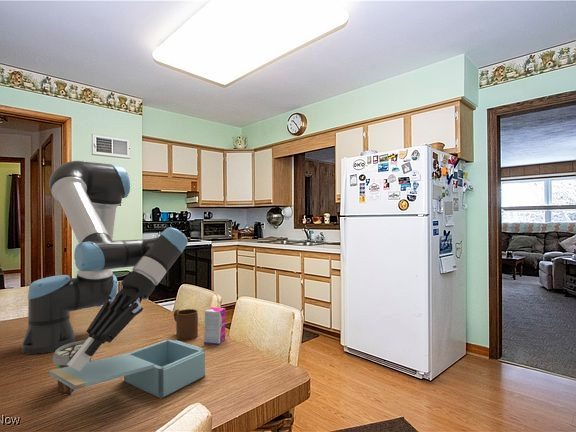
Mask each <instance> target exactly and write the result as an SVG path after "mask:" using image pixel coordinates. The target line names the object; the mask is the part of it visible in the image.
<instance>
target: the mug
mask: <svg viewBox="0 0 576 432" xmlns="http://www.w3.org/2000/svg"><path fill="white" fill-rule="evenodd" d="M198 317H199V314H198V310H197V309H194V308H192V309H191V308H189V309H188V308H187V309H182V310H181V309H174V311H173V319H174V322H176V323H175V327H176V328H175V329H176V330H175V331H176V332H175V333H176V334H175V335H176V338H177V339H176V340H178V341H191V340H195V339H196V338H197V337H198V335H199V334H198V333H199V331H198V330H199V318H198Z"/></svg>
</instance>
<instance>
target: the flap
mask: <svg viewBox="0 0 576 432" xmlns="http://www.w3.org/2000/svg"><path fill="white" fill-rule="evenodd" d="M154 365H155V364H153V363H150V362H148V361H145V360H142V359H140V358H137V357H135V356H132V355H130V354H128V353H123V354H119V355H114V356H109V357H106V358H105V357H104V358H101V359H96V360H91V362H87V363H86V364H85V366H84V367H83V368H82V370H81V371H80V372H79V371H77V370H75V369H73V368H72V367H70V366H68V367H64V368H58V369H56V368H55V369H54V368H53V369H51V370H50V369H49V372H48V376H50V377H52V378H53V379H55V380H58V381H60V382H62V383H64V384H65V385H67V386H69V387H70V388H72V389H74V390H76V391H77V390H81V389H83V388H86V387H90V386H94V385H97V384H101V383H105V382H108V381H112V380H116V379H118V378H122V377H123V378H124V376H126V375H130V374H133V373H137V372H140V371H144V370H148V369H151V368H154ZM58 381H57V382H58Z"/></svg>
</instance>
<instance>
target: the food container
mask: <svg viewBox="0 0 576 432" xmlns="http://www.w3.org/2000/svg"><path fill="white" fill-rule="evenodd" d="M86 340H87V339H85V340H79V341H75V342H73V343H69V344H66V345H64V346H62V347H60V348H58V349H57V350H56V351H54V353H53V357H52V363H53V364H54V365H55V367H56V368H55V369H58V368H64V367H68V365H67V364H68V362H69V361H70V360H71V359H72V357H73V356H74V355H75V354H76V352H77V351H78V350H79V349H80V347H81V346H82V345H83V344H84V342H85V341H86ZM91 361H92V357H91V358H90V359H89V360H88V362H91ZM56 380H57V379H56ZM57 388H58V390H57V391H58V393H59V392H60V393H61V394H60V393H59V394H60V395H64V394H67V395H66V396H72V395H73V394H74V393H75V392H76V391H77V390H74V389H72V388H70V387H69V386H67V385H65V384H64V383H62V382H60V381H58V380H57ZM73 392H74V393H73ZM72 393H73V394H72Z"/></svg>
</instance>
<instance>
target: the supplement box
mask: <svg viewBox="0 0 576 432" xmlns="http://www.w3.org/2000/svg"><path fill="white" fill-rule="evenodd" d="M226 310H227V309H226V307H214V306H212V307H210V308H208V309H206V310H205V311H204V328H203V329H204V333H203V334H204V335H203V337H204V339H203V344H204V345H214V346H215V345H216V346H219V345H220V344H221V343H223V342H224V340H226V314H227V313H226Z"/></svg>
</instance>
